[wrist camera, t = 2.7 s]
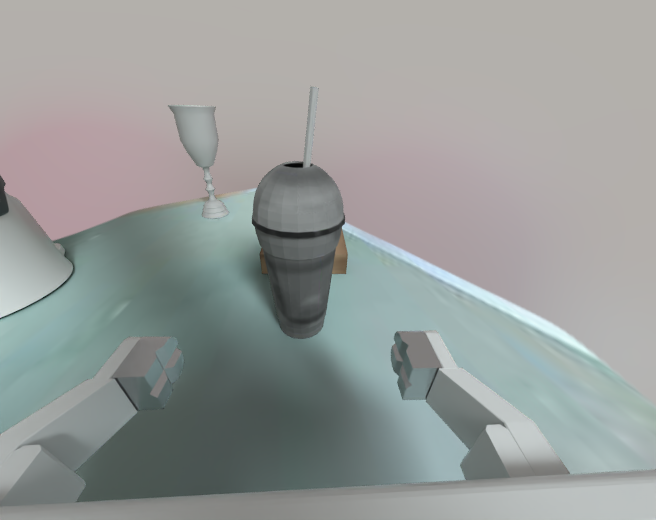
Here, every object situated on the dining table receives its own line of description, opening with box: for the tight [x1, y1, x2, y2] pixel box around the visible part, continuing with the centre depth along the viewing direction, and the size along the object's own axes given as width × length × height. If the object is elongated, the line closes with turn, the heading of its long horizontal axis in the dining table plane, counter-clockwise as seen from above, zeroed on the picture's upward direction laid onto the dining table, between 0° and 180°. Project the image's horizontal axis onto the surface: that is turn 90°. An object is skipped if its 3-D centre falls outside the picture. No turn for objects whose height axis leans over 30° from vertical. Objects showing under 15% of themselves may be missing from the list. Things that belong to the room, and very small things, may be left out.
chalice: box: [168, 105, 229, 219], centre depth 45 cm, size 7×7×18 cm
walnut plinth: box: [260, 230, 348, 274], centre depth 37 cm, size 11×11×3 cm
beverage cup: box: [252, 87, 345, 339], centre depth 21 cm, size 7×7×20 cm
